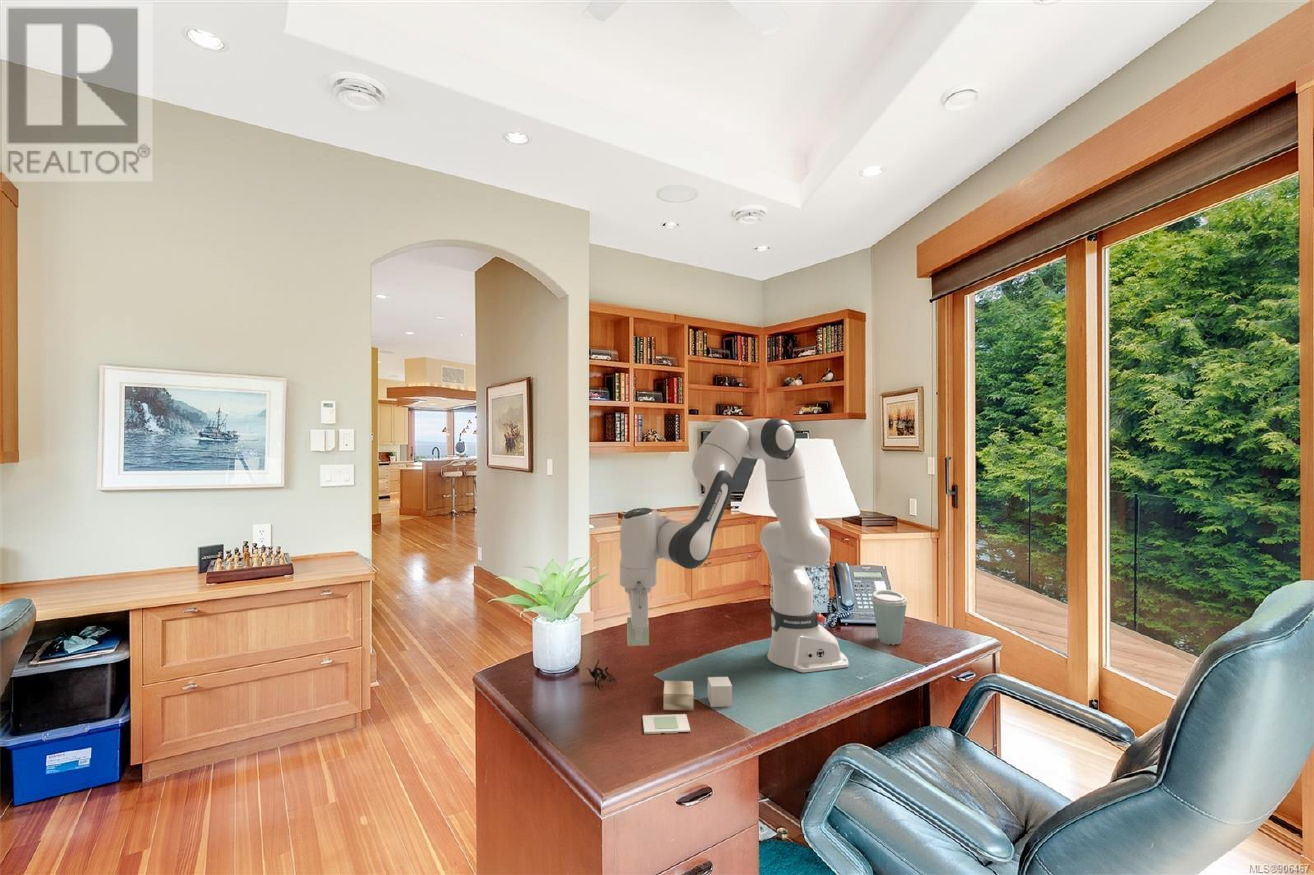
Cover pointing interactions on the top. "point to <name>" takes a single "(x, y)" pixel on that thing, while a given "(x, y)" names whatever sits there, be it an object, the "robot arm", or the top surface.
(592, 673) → the creature
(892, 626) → the disposable coffee cup
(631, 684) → the top surface
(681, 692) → the birch block
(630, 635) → the sage cube
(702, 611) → the top surface
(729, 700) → the grey cube
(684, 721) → the tile
